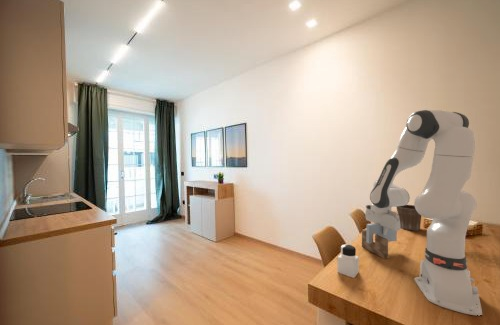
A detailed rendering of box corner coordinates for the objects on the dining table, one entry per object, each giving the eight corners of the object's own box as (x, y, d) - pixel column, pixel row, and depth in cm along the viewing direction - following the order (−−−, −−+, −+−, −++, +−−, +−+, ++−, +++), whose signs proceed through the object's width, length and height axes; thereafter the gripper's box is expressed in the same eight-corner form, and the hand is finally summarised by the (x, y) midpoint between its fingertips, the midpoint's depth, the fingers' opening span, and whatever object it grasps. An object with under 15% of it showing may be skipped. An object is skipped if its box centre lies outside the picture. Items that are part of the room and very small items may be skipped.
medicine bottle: (359, 272, 95) (359, 245, 95) (354, 278, 90) (354, 250, 90) (342, 266, 100) (342, 241, 100) (337, 272, 95) (337, 246, 94)
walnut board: (387, 258, 107) (388, 239, 107) (384, 259, 107) (384, 239, 107) (364, 246, 123) (364, 229, 123) (361, 246, 123) (361, 229, 123)
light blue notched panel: (369, 243, 113) (369, 225, 113) (366, 242, 115) (366, 224, 115) (396, 240, 117) (396, 223, 117) (393, 239, 119) (393, 222, 119)
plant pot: (390, 226, 158) (390, 205, 158) (403, 223, 165) (403, 203, 165) (415, 233, 144) (415, 210, 144) (428, 230, 151) (428, 207, 150)
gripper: (403, 212, 106) (403, 239, 107) (372, 204, 126) (372, 226, 127) (393, 213, 105) (393, 240, 105) (363, 204, 125) (363, 227, 125)
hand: (381, 233), depth 116 cm, fingers closed on light blue notched panel, 2 cm apart
